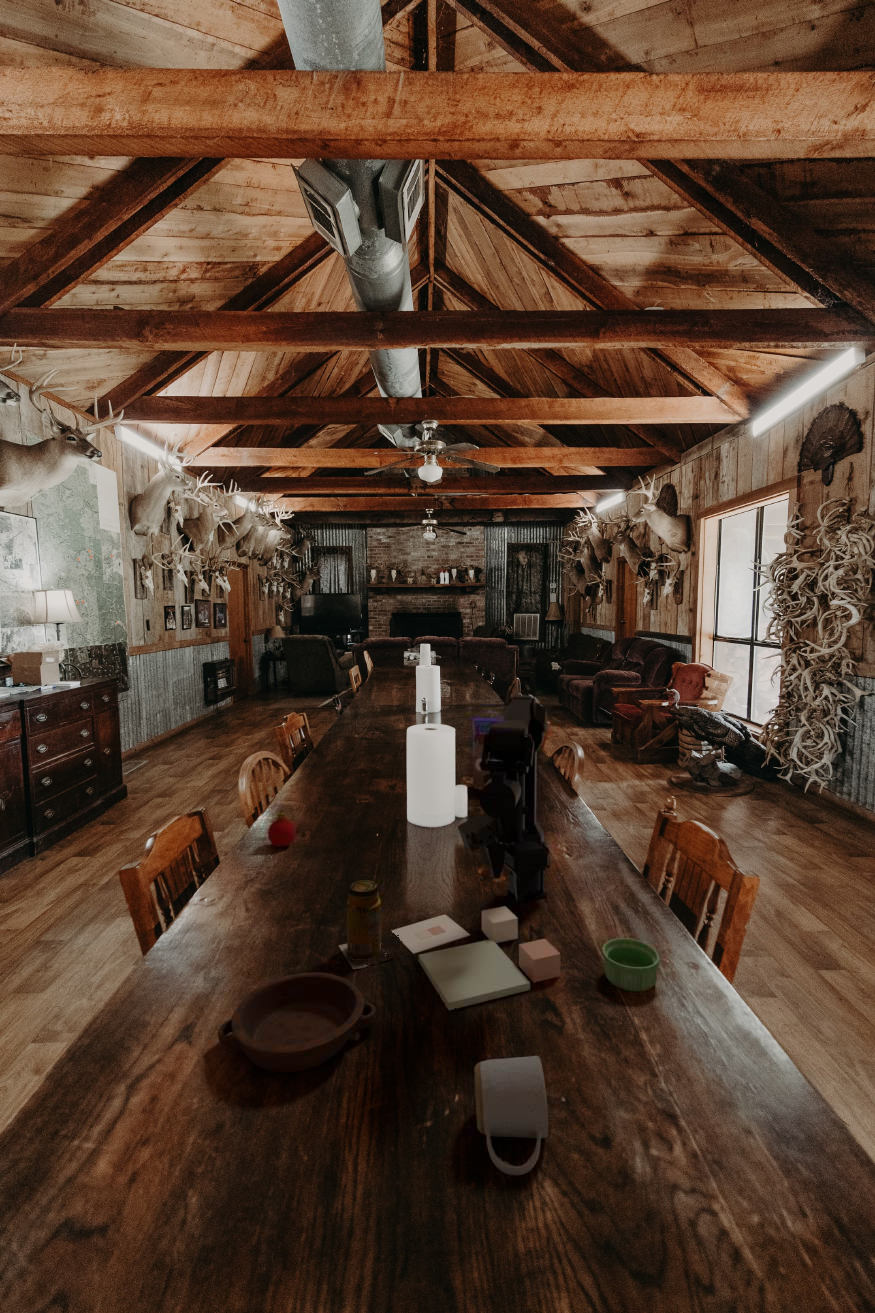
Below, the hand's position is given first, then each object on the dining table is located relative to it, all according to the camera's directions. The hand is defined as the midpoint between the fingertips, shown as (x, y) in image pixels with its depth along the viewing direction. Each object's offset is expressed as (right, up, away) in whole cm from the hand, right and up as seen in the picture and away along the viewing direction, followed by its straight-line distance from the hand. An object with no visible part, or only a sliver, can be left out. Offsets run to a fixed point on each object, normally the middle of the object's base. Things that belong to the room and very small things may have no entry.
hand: (507, 888), depth 105 cm
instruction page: (-13, -12, +10) cm, 21 cm away
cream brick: (0, -12, +9) cm, 15 cm away
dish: (-32, -15, -18) cm, 39 cm away
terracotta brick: (+5, -13, -2) cm, 14 cm away
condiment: (-25, -13, +3) cm, 28 cm away
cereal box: (+9, -6, +103) cm, 104 cm away
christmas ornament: (-52, -10, +54) cm, 76 cm away
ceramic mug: (-3, -16, -35) cm, 38 cm away
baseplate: (-6, -13, -3) cm, 15 cm away
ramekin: (+20, -13, -4) cm, 24 cm away
